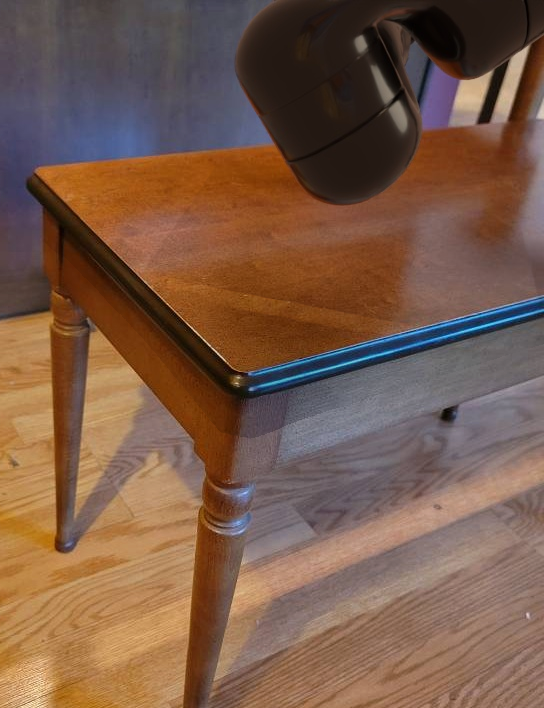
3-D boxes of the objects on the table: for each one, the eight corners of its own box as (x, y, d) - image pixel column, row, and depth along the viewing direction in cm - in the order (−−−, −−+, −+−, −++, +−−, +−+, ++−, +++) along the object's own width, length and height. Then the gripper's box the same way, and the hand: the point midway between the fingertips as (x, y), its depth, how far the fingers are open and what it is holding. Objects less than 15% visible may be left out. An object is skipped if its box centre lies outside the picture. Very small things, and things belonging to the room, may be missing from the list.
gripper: (475, -8, 48) (465, -36, 61) (260, -40, 49) (294, -61, 62) (444, 111, 52) (441, 62, 65) (248, 79, 54) (282, 37, 67)
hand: (369, 2), depth 64 cm, fingers open, 8 cm apart
